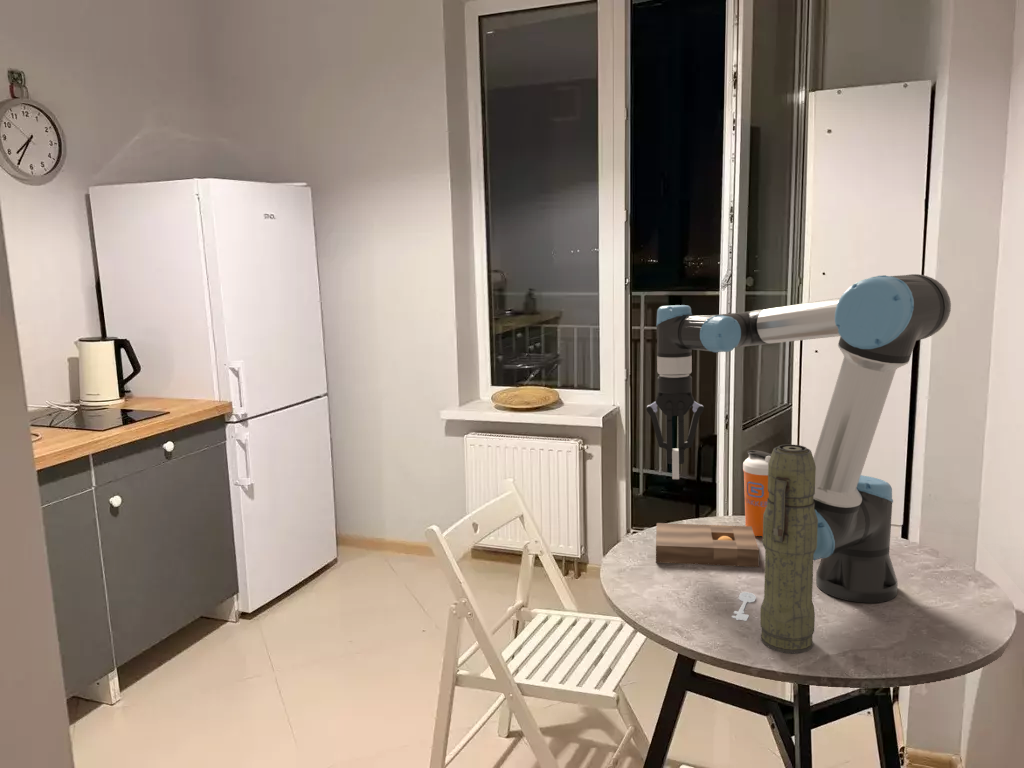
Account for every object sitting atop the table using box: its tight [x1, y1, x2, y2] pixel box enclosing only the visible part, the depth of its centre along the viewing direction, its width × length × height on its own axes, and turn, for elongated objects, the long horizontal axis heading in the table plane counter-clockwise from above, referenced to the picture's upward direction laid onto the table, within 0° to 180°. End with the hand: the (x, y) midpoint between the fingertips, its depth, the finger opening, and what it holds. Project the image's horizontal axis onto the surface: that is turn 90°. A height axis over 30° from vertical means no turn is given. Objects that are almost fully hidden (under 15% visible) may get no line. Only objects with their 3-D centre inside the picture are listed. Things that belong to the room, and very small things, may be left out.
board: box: [655, 522, 760, 568], centre depth 180 cm, size 15×22×4 cm
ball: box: [718, 536, 733, 541], centre depth 179 cm, size 4×4×4 cm
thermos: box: [759, 443, 818, 654], centre depth 135 cm, size 9×12×35 cm
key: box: [731, 591, 756, 622], centre depth 152 cm, size 12×1×3 cm
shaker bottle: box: [742, 449, 772, 538], centre depth 191 cm, size 9×9×20 cm
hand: (675, 477), depth 178 cm, fingers closed
